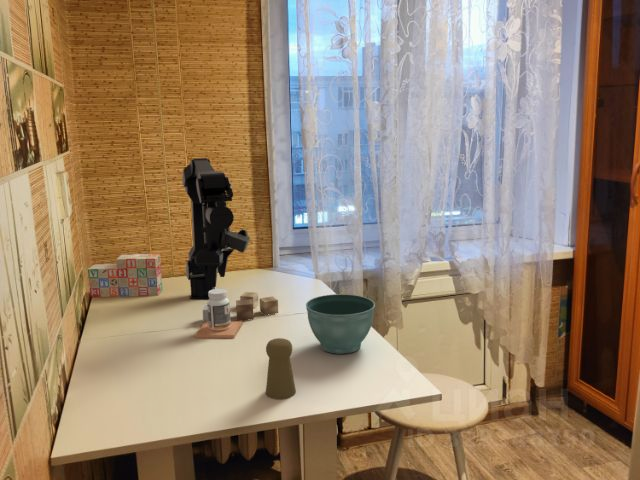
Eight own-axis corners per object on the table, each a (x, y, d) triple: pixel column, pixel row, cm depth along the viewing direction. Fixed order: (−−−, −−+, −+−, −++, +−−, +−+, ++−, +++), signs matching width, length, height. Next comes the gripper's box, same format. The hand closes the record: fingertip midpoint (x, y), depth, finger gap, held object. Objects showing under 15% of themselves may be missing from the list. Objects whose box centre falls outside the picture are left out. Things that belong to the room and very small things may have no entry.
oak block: (265, 315, 164) (264, 302, 163) (260, 311, 168) (259, 298, 167) (278, 313, 166) (277, 300, 165) (273, 309, 169) (272, 296, 168)
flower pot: (339, 330, 152) (339, 289, 149) (388, 346, 140) (389, 302, 138) (293, 347, 141) (291, 304, 138) (342, 366, 129) (341, 320, 127)
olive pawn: (265, 386, 121) (263, 335, 118) (295, 384, 121) (293, 334, 119) (265, 400, 115) (263, 347, 112) (296, 398, 115) (294, 345, 113)
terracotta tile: (195, 337, 148) (195, 334, 148) (206, 324, 158) (205, 321, 158) (234, 338, 148) (234, 335, 147) (242, 324, 157) (242, 321, 157)
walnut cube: (237, 321, 160) (236, 305, 159) (236, 315, 165) (235, 300, 164) (253, 319, 161) (252, 304, 160) (252, 314, 165) (252, 299, 164)
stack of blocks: (90, 297, 185) (86, 259, 182) (97, 291, 191) (93, 255, 188) (158, 295, 185) (155, 257, 182) (163, 290, 191) (160, 253, 189)
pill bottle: (234, 325, 154) (232, 288, 152) (224, 332, 149) (222, 295, 147) (215, 323, 156) (213, 287, 154) (204, 330, 151) (202, 293, 149)
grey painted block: (203, 324, 158) (202, 309, 158) (206, 319, 162) (205, 305, 162) (218, 323, 159) (217, 309, 158) (220, 318, 162) (219, 304, 162)
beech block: (240, 309, 170) (239, 296, 169) (245, 305, 174) (245, 292, 173) (253, 310, 169) (253, 296, 168) (258, 305, 173) (257, 292, 172)
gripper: (238, 230, 139) (241, 293, 142) (253, 216, 157) (255, 272, 161) (192, 230, 140) (196, 292, 143) (212, 216, 158) (215, 272, 162)
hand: (218, 281), depth 152 cm, fingers open, 9 cm apart
